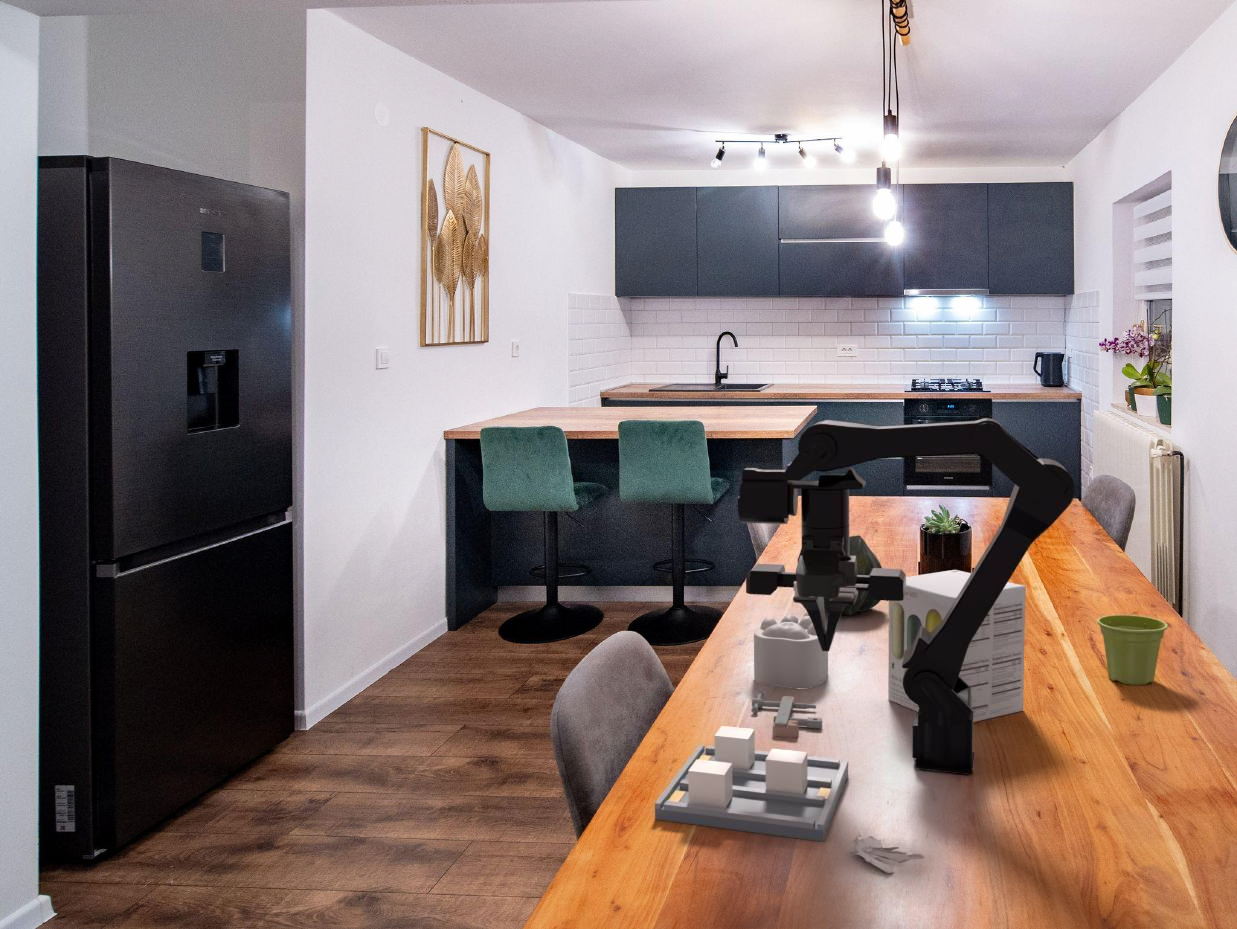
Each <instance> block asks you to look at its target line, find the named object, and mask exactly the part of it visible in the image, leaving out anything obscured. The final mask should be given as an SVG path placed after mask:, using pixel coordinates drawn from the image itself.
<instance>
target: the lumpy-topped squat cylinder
mask: <svg viewBox="0 0 1237 929" xmlns="http://www.w3.org/2000/svg"><path fill="white" fill-rule="evenodd" d="M826 630H827V627H826ZM827 676H829V652H827V651H822V649H821V646H820V643H819V640H818V637H817V634H816V632H815V629H814V626H813V623H812V621H811V618H810V616H809V615H806V616H803V617H802V618H800V619H799V618H798V617H797V616H795V615H793V614H786V615H785V616H783V617H782V619H780V620H779V619H778V620H776V619H775V618H773V617H766V618H764V619H763V620H762V621H761V624H760V627H758V628H757V629H756V630H755V631H754V633H753V679H754V681H755V683H757V684H759V685H762V686H770V685H772V686H773V687H784V688H788V689H795V688H808V689H812V688H811V687H813V688H816V687H818V686H820V685H821V684H822V683H824V682H825V681H826V679H827V678H828V677H827ZM824 680H825V681H824ZM823 681H824V682H823ZM819 684H820V685H819ZM817 685H818V686H817ZM790 687H791V688H790Z"/></svg>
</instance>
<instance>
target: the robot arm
mask: <svg viewBox="0 0 1237 929" xmlns="http://www.w3.org/2000/svg"><path fill="white" fill-rule="evenodd" d="M797 451H798V453H797V454H796V456H795V457H794V459H793V460H792V461H790V463H788V464H787V465H786V469H761V468H757V467H746V468H744V469H742V471H741V482H740V486H739V496H738V497H737V512H738V519H739V522H740V523H742V524H765V525H767V524H769V525H771V524H773V525H775V524H776V525H787V524H788V522H789V520H790V516H791V517H796V516H797V514H798V507H799V497H798V496H799V493H798V491H799V489H800V492H801V493H800V496H801V497H800V504H801V505H800V506H801V508H800V509H801V514H800V515H801V520H800V521H801V527H800V528H801V547H800V548H801V549H800V552H799V555H798V556H797V564H796V569H795V572H793V571H792V572H788V571H786V568H785V564H775V563H756V565H754V567H753V568H752V569H751V570H749V571H748V572H747V574H746V576H745V577H746V579H745V593H746V594H748V595H756V596H758V595H759V596H771V595H772V594H773V593H774V592H775V591H776V590H777V589H778V588H792V589H793V591H794V596H793V597H792V601H793V603H795V604H801V605H802V607H803V608H804V609H805V611H806V612H807V614H808V616H810V618H811V621H812V623H813V626H814V629H815V632H816V634H817V637H818V640H819V643H820V646H821V649H822V651H827V652H828V653H829V652H830V650H831V647H832V644H833V641H834V638H835V634H836V632H837V628H838V624H839V623H840V620H841V617H842V614H843V610H844V608H845V606H846V605H854V604H855V601H856V599H857V597H858V592H857V591H869V594H870V595H871V596H872V597H873V598H874V599H875V600H881V601H888V602H889V601H902V600H904V596H905V593H906V577H907V574H906V572H904V571H903V569H902V568H884V567H882V568H873V569H872V571H871V574H870V575H857V561H856V556H849V537H850V490H855V491H856V490H857V491H858V490H862V489H863V488H864V487H865V486H866V483H867V482H866V480H865V479H863V478H862V477H860V476H859V475H858V473H857V472H856V471H855V469H854V468H853V466H857V465H859V464H864V463H867V462H871V461H876V460H881V459H883V460H884V459H902V458H903V459H905V458H919V457H920V458H921V457H937V456H938V457H939V456H940V457H941V456H942V457H945V456H957V455H961V456H962V455H982V456H983V457H984V458H985V459H987V460H988V461H989V462H990V463H991V464H992V465H993V466H995V468H997V469H998V470H999V471H1000V472H1001V473H1002V474H1003V475H1004V476H1005V477H1006V478H1008V480H1010V481H1011V482H1012V483H1013V484H1014V486H1013V489H1012V492H1011V495H1010V497H1009V500H1008V503H1007V506H1006V509H1005V512H1004V516H1003V518H1002V520H1001V524H1000V525H999V527H998V529H997V530H996V532H995V533H994V535H993V537H992V539H991V541H990V542H989V544H988V546H986V549H985V550H984V552H983V554H982V555H981V557H980V559H979V560H978V562H977V563H976V565H975V567H974V569H973V570H972V572H970V573H971V575H970V577H969V578H968V580H967V581H966V583H965V585H964V586H963V588H962V590H961V591H960V593H959V595H958V596H957V598H956V600H955V601H954V603H953V604H952V606H951V608H950V609H949V611H948V613H947V614H946V616H945V618H944V619H943V621H942V622H941V623H940V624H939V625H938V626H937V627H936V628H935V629H933V630H932V631H931V632H929V631H928V630H926V629H925V628H924V627H923V626H920V629H919V631H918V634H917V636H916V639H915V641H914V643H913V644H912V645H911V647H909V648H908V649H907V650H905V653H904V658H903V663H902V668H905V670H904V675H903V687H904V691H905V693H906V695H907V696H908V698H909V699H910V700H912V701H913V702H914V703H915V704H917V705H918V706H919V711H918V712H917V718H914V720H913V723H912V735H911V736H912V738H911V742H912V743H911V744H912V747H911V749H912V750H911V753H912V754H911V755H912V756H911V757H912V758H913V759H915V763H914V768H916V769H917V770H926V771H935V772H943V773H952V774H953V773H955V774H961V775H962V774H963V775H972V774H973V772H974V763H975V752H974V722H973V711H972V708H971V687H970V686H969V685H968V684H967V683H966V682H965V681H964V680H963V679H961V678H960V677H959V674H960V671H961V668H962V665H963V662H964V659H965V656H966V653H967V649H968V647H969V644H970V642H971V640H972V639H973V637H974V636H975V634H976V632H977V631H978V629H979V627H980V626H981V624H982V623H983V621H984V619H985V618H986V616H987V615H988V613H989V611H990V610H991V608H992V606H993V605H994V603H995V602H996V600H997V598H998V597H999V595H1000V594H1001V592H1002V590H1003V589H1004V587H1005V585H1006V584H1007V582H1009V580H1010V579H1011V577H1012V576H1013V574H1014V573H1015V571H1016V569H1017V567H1018V566H1019V564H1020V562H1021V561H1022V560H1023V558H1024V556H1025V555H1026V553H1027V552H1028V550H1029V548H1030V547H1031V545H1032V544H1033V543H1034V542H1035V541H1036V540H1037V539H1038V538H1039V537H1040V536H1041V535H1043V534H1044V533H1045V532H1046V531H1047V530H1048V529H1049V528H1050V527H1052V526H1053V524H1054V523H1055V522H1056V521H1057V520H1058V519H1059V517H1060V516H1062V514H1063V513H1065V511H1066V510H1067V509H1068V508H1069V506H1070V505H1071V504H1072V503H1073V500H1074V498H1075V494H1076V486H1075V482H1074V479H1073V477H1072V476H1071V475H1070V473H1069V471H1067V469H1066V468H1065V466H1064V465H1062V464H1061V463H1060V462H1058V461H1056V460H1054V459H1051V458H1039V457H1038V456H1037V455H1036V454H1035V453H1034V452H1032V451H1031V449H1029V448H1028V447H1027V446H1025V445H1024V444H1023V443H1022V442H1020V441H1019V440H1018V439H1017V438H1015V437H1014V436H1013V435H1012V434H1010V433H1009V432H1008V431H1007V430H1006V429H1004V427H1003V425H1002V424H1001V423H999V421H997V420H995V419H993V418H989V417H985V418H981V419H978V420H970V421H952V422H937V423H936V422H935V423H934V422H933V423H921V424H919V423H918V424H917V423H916V424H904V425H903V424H902V425H901V424H900V425H888V426H887V425H884V426H877V425H869V424H862V423H855V422H849V421H842V420H841V421H839V420H830V419H825V420H821V421H818V422H815V423H814V424H813V425H810V426H809V427H808V428H806V429H805V430H804V431H803V433H801V435H800V437H799V440H798V447H797ZM849 467H850V468H849ZM843 468H849V469H847V471H846V472H845V473H842V474H841V473H840V474H839V473H827V472H831V471H835V470H840V469H843ZM813 472H821V473H820V474H819V477H818V480H815V481H804V480H803V479H804V478H805V477H807V476H809V475H811V474H812V473H813ZM824 472H825V473H824ZM802 480H803V481H802ZM824 597H825V598H826V599H830V600H829V612H827V613H828V614H827V619H826V611H825V608H824ZM826 620H827V622H826ZM826 628H827V630H826Z"/></svg>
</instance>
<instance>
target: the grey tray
mask: <svg viewBox="0 0 1237 929" xmlns="http://www.w3.org/2000/svg"><path fill="white" fill-rule="evenodd" d="M705 745H706V744H699V745H698V746H697V748H696V749H695V750H694V751H693V753H692V754H691V755H690V756H689V758H688V759H687V760H686V762H685V763H684V765H683V766H682V767H681V769H680V770H679V771H678V772H677V774H676V775H675V776H674V777H673V779H672V780H671V782H670V783H669V784H668V785H667V787H666V788H665V789H664V791H662V793H661V794H660V796H659V797H658V798H657V800H656V801H655V802H654V819H655V820H657V821H665V822H666V821H667V822H672V823H680V824H687V825H696V826H701V827H702V826H703V827H709V828H719V829H726V830H732V831H733V830H734V831H740V832H748V833H755V834H763V835H770V836H776V837H778V836H779V837H785V838H793V839H800V840H808V841H814V842H815V841H816V842H824V841H825V839H826V836H827V834H828V830H829V828H830V826H831V822H832V820H833V817H834V814H835V811H836V810H837V807H836V806H838V804H839V801H840V799H839V798H841V795H842V793H843V791H844V787H845V785H846V783H847V780H846V779H848V777H849V760H848V759H843V760H842V762H841V763H840V761H841V760H840V759H839V758H830V757H820V756H810V755H807V787H806V789H805V791H804V794H800V793H792V792H783V791H775V790H766V758H767V756H768V754H769V753H770V751H764V750H755V761H754V762H753V764H752V766H751V767H750V769H741V768H732V793H733V797H732V798H731V800H730V802H729V803H728V805H727V807H726V808H721V807H713V806H705V805H697V804H689V788H688V770H689V769H690V768H691V766H692V765H693V764H694V762H695V761H696V760H697V759H699V760H708V761H715V745H709V744H708V745H707V746H706V747H705ZM845 782H846V783H845ZM844 784H845V785H844ZM842 790H843V791H842Z"/></svg>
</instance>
